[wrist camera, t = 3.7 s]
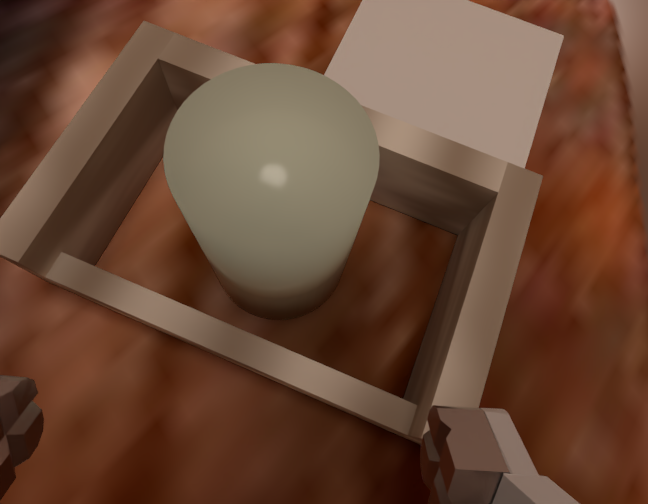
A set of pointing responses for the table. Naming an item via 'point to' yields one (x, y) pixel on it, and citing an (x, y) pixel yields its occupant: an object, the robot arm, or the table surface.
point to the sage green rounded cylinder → (273, 182)
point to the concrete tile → (450, 71)
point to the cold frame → (390, 190)
